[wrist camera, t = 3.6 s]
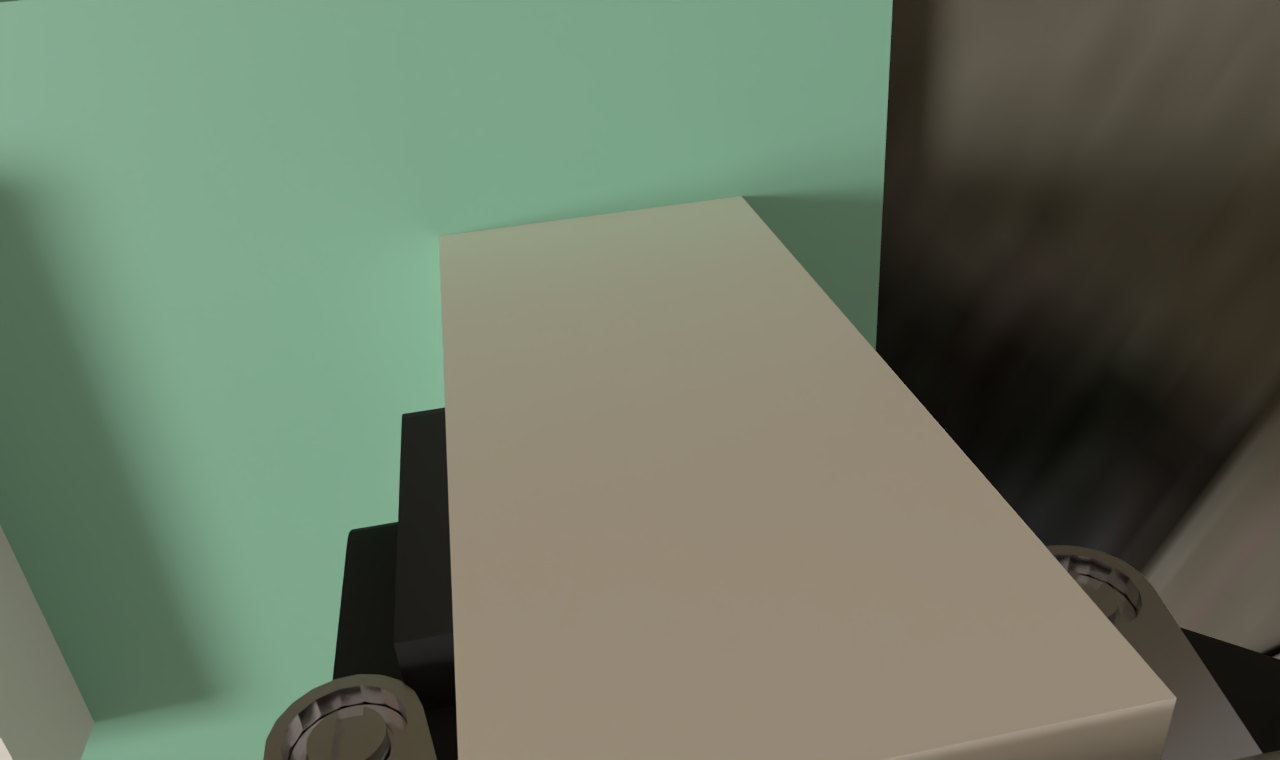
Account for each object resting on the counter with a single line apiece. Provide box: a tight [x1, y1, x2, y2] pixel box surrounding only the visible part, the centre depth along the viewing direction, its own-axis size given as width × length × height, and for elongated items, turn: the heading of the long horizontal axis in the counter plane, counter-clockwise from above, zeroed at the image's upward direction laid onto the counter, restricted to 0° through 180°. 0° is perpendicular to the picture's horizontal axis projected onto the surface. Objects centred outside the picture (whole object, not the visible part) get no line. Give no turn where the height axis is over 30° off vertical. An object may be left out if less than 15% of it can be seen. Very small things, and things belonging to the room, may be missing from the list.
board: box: [0, 0, 893, 760], centre depth 13 cm, size 20×12×3 cm, turn 95°
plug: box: [439, 196, 1177, 760], centre depth 11 cm, size 4×6×9 cm, turn 5°
